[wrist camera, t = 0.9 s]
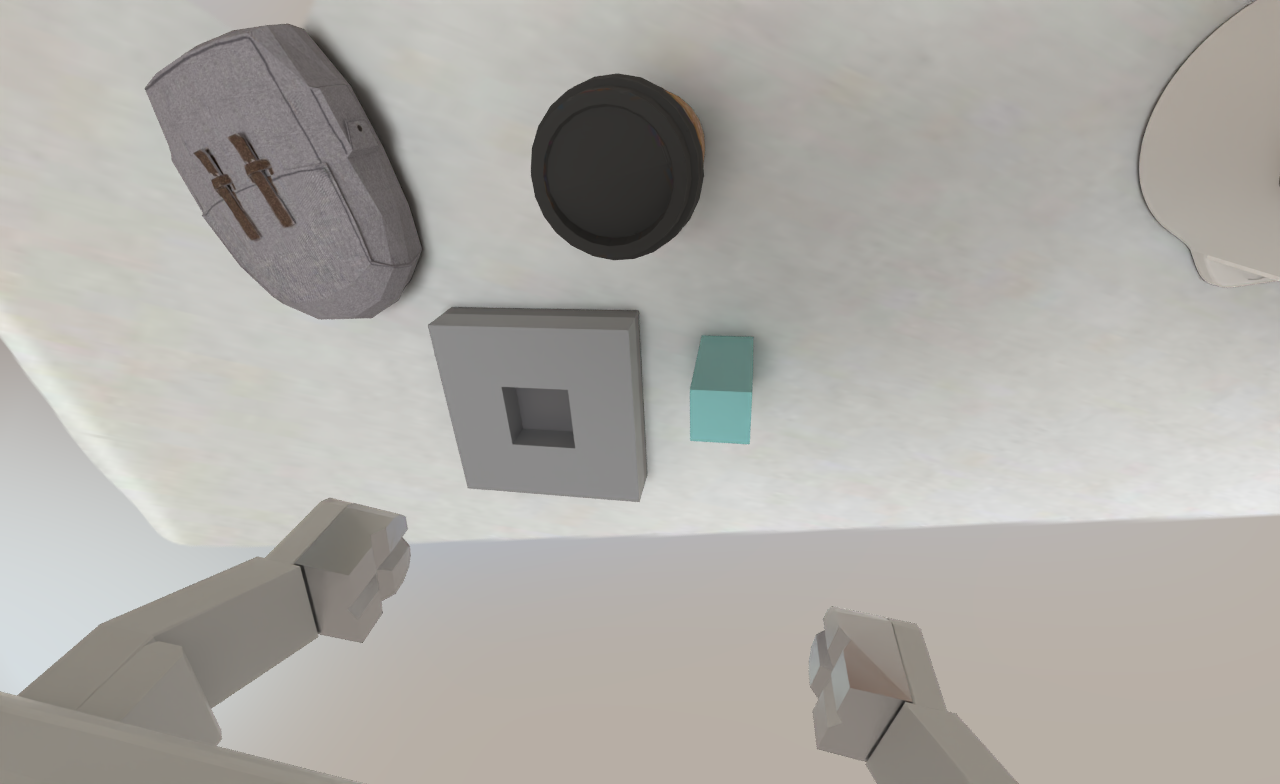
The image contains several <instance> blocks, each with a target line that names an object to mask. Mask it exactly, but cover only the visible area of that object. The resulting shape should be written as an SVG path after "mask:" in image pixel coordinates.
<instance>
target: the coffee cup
mask: <svg viewBox="0 0 1280 784" xmlns="http://www.w3.org/2000/svg"><path fill="white" fill-rule="evenodd" d="M704 155H705V143H704V133H703V130H702V127H701V123H700V120H699V119H698V117H697V115H696V114H695V112H694V110H693V109H692V108H691V107H690V106H689V105H688V104H687V103H686V102H685V101H684V100H682V99H681V98H680V97H678V96H676V95H674V94H672V93H670V92H668V91H666V90H664V89H663V88H661V87H659V86H657V85H655V84H653V83H651V82H649V81H647V80H645V79H643V78H641V77H635V76H629V75H623V74H611V75H604V76H597V77H593V78H591V79H589V80H587V81H585V82H583V83H581V84H579V85H576V86H574V87H573V88H571V89H569V90H568V91H567V92H565V93H564V94H563V95H562V96H561V97H560V98H559V99H558V100H557V101H556V102H555V103H553V104H552V105H551V106H550V108H549V110H548V111H547V113H546V115H545V116H544V118H543V119H542V121H541V123H540V124H539V126H538V130H537V133H536V136H535V140H534V143H533V147H532V159H531V177H532V182H533V188H534V193H535V197H536V200H537V202H538V204H539V206H540V209H541V211H542V213H543V215H544V217H545V218H546V220H547V221H548V222H549V224H550V225H551V226H552V228H553V229H554V230H555V232H556V233H557V234H558V235H560V236H561V237H562V238H563V239H564V240H566V241H567V242H568V243H569V244H570V245H572V246H573V247H576V248H578V249H580V250H582V251H584V252H586V253H588V254H590V255H592V256H596V257H601V258H606V259H611V260H623V259H635V258H638V257H641V256H644V255H646V254H649V253H652V252H654V251H656V250H657V249H659V248H660V247H661V246H663V245H664V244H666V243H667V242H669V241H670V240H671V239H672V238H674V237H675V236H676V235H677V234H678V233H679V232H680V230H681V229H682V228H683V227H684V226H685V224H686V223H687V222H688V221H689V220H690V218H691V216H692V214H693V211H694V209H695V207H696V205H697V203H698V201H699V198H700V193H701V188H702V183H703V177H704V170H703V162H704Z"/></svg>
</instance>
